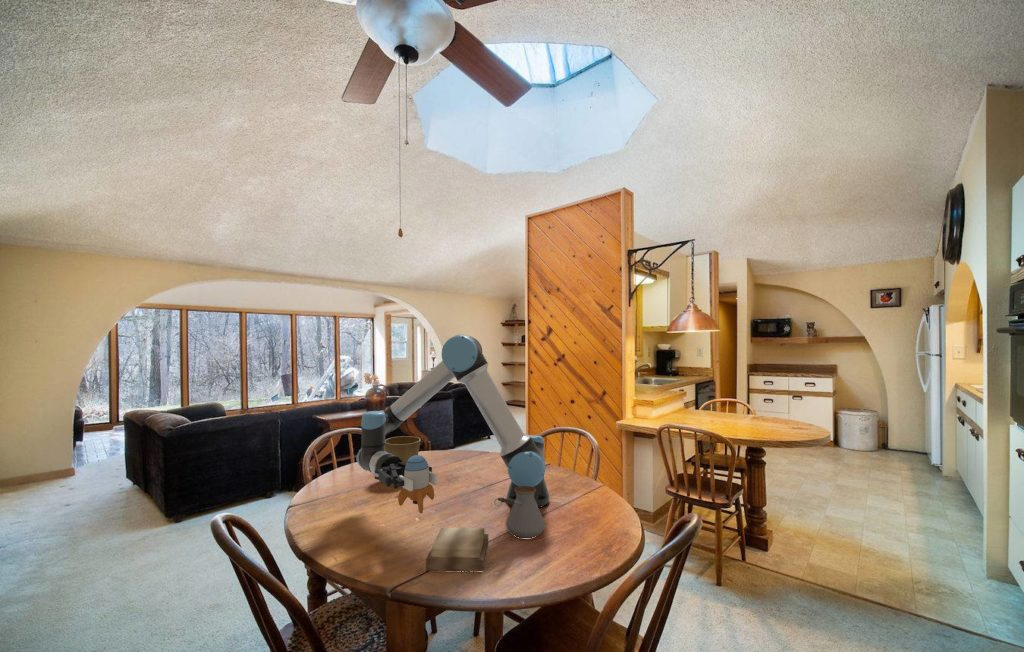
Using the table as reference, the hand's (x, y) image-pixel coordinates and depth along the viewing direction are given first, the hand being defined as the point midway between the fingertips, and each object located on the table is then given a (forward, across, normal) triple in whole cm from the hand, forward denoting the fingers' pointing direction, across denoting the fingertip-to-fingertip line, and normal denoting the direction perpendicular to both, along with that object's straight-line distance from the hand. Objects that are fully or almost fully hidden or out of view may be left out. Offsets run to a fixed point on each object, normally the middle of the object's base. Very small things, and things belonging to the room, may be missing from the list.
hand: (424, 482), depth 115 cm
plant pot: (-60, -25, -18) cm, 68 cm away
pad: (+10, -4, -18) cm, 21 cm away
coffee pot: (+14, -22, -18) cm, 32 cm away
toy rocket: (-5, 0, -8) cm, 9 cm away
